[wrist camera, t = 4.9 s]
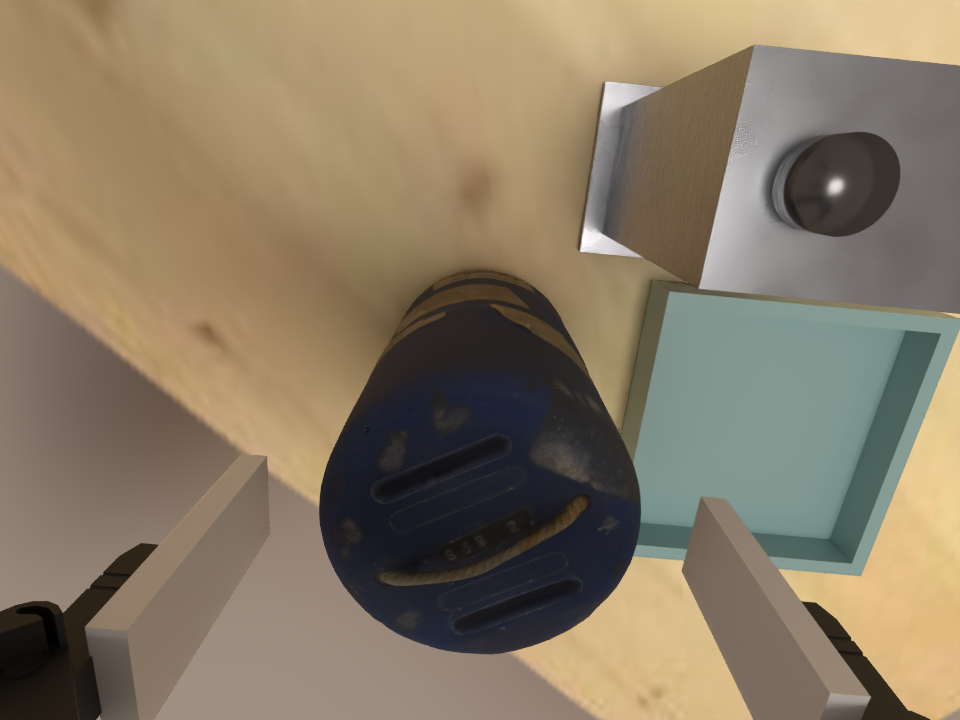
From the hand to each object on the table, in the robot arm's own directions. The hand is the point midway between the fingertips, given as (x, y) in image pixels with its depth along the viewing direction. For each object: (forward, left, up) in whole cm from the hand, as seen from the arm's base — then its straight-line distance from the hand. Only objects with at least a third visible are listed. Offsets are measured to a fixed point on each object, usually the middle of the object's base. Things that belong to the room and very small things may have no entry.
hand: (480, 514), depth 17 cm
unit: (+10, +10, -15) cm, 21 cm away
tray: (+16, -3, -15) cm, 22 cm away
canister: (0, 0, -16) cm, 16 cm away
